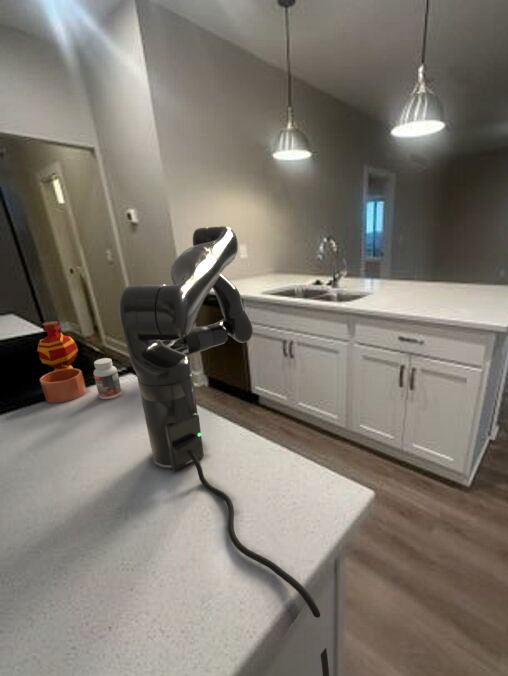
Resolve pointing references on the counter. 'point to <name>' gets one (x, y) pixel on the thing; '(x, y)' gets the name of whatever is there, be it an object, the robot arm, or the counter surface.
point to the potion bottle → (56, 348)
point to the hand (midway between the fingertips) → (142, 354)
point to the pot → (63, 385)
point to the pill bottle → (106, 379)
